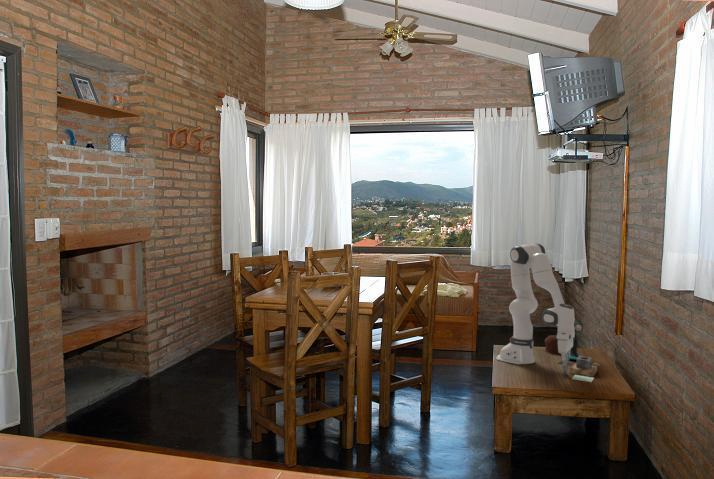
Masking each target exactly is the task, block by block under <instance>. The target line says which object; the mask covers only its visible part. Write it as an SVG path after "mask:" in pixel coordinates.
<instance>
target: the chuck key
mask: <svg viewBox="0 0 714 479" xmlns="http://www.w3.org/2000/svg"><path fill="white" fill-rule="evenodd" d="M557 363H558V364H559V365H562V367H561V368H562V370H561V371H562V374H561V375H562V376H568V366H569V367H572V366H573V363H572V362H570V361H569V362H568V356H566V360H565V361H564V360H562V361H560V360H559V361H558V362H557Z"/></svg>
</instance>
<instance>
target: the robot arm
mask: <svg viewBox="0 0 714 479" xmlns="http://www.w3.org/2000/svg"><path fill="white" fill-rule="evenodd" d="M509 257H510V279H511V288H512V290H513V291H514V294H515V295H516V298H515V299H513V300H512V301H511V302H510V304H509V306H508V310H509V313H510V314H511V317H512V323H513V335H512V336H511V337H510V338H509V342H508V343H507V344H506V345H504V347H502V348H501V350H500V352H499V353H500V354H498V355H497V356H496V360H497V361H501V362H505V363H510V364H515V365H529V364H534V363H535V362H536V361H535V357H534V350H533V348H534V337H533V335H534V331H533V330H534V326H533V324H532V320H531V316H530V315H531V314H533V313H534V312H535V311H536V310H537V309H538V307H539V303H538V300H537V298H536V297H535V294H534V291H533V288H532V282H531V273H532V278H533V281H534V284H535V285H537V286H538V287H539V288H542V289H544V290H546V291H547V292H549V294H550V295H551V298H552V302H553V305H554V307H551V308H547V309H544V311H542V313H541V320H542V322H543V323H544V324H545V325H546V326H557V333H556V336H557V339H558V352H559V354H560V355H561V360H562V361H563V360H564V361H565V360H566V356H568V357H569V356H570V350H571V348H572V347H573V338H574V337H575V328H574V321H575V309H574V307H573V306H572V305H570V304H567V303H566V301H565V297H564V295H563V292H562V289H561V286H560V284H559V282H558V281H557V279H556V277H555V275H554V273H553V269H552V264H551V262H550V260H549V258H548V257H549V256H548V255H547V254H546V249H545V247H544V246H543V245H542V244H541V243H525V244H521V245H516V246H513V247H512V248H511V250H510V252H509ZM530 269H531V272H530Z"/></svg>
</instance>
